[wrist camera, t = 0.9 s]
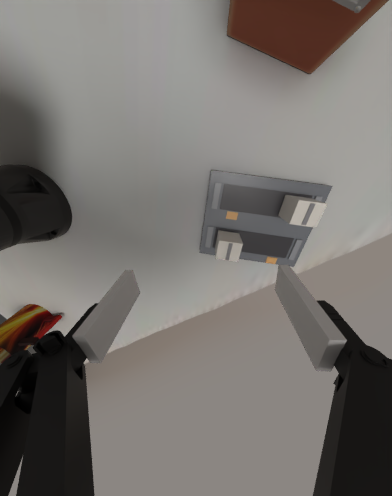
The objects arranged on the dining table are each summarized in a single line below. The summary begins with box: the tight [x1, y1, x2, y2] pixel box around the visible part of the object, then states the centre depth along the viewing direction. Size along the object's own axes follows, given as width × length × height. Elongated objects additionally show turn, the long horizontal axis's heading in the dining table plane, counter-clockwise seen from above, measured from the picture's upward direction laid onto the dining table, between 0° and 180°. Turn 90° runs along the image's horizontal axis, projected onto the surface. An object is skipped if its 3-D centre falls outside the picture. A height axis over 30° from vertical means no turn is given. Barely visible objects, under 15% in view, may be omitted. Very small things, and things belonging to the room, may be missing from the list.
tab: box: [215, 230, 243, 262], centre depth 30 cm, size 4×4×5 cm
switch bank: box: [200, 170, 332, 267], centre depth 31 cm, size 20×16×2 cm
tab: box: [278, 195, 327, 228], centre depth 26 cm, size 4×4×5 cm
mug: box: [0, 304, 62, 363], centre depth 46 cm, size 10×14×12 cm
